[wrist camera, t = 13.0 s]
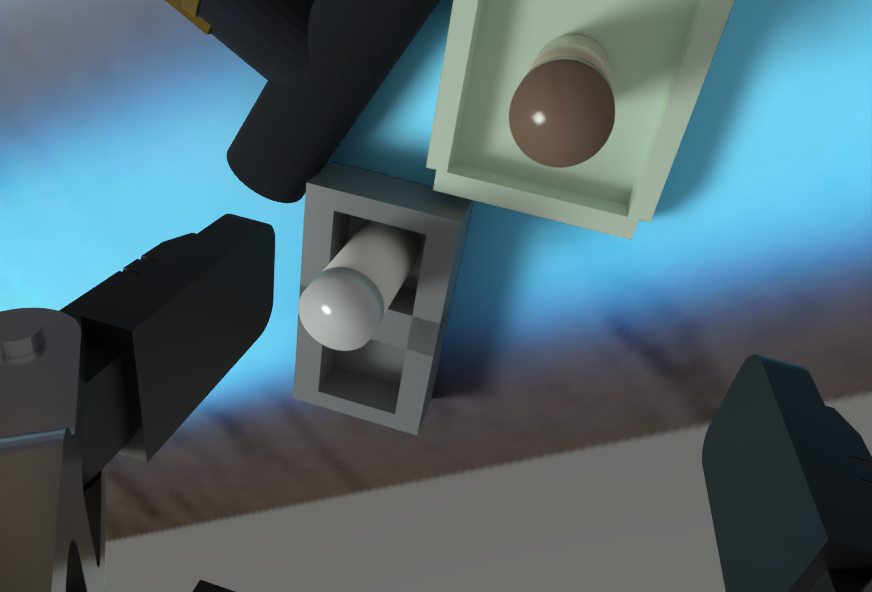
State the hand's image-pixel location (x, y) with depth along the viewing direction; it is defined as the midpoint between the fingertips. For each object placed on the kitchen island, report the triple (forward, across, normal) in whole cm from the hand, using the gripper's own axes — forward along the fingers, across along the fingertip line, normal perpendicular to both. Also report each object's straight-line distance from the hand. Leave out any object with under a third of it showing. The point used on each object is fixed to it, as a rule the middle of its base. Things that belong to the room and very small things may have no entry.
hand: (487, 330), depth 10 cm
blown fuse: (+25, 0, 0) cm, 25 cm away
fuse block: (+26, +8, +16) cm, 32 cm away
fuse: (+25, +8, +12) cm, 29 cm away
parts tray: (+26, 0, 0) cm, 26 cm away
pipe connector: (+26, +15, +1) cm, 31 cm away
